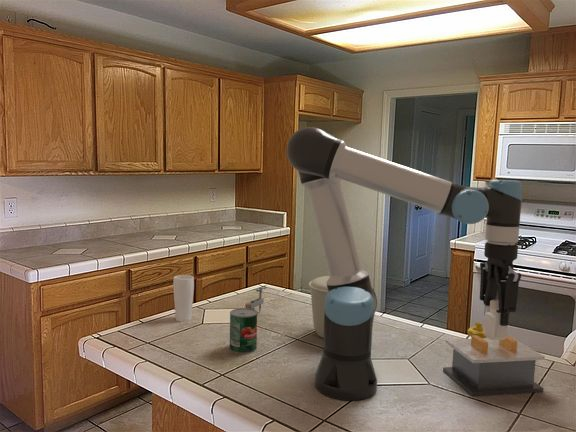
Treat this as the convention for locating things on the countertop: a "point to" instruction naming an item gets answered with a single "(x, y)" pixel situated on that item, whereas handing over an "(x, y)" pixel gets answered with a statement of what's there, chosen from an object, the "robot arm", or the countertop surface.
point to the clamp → (256, 302)
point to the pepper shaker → (491, 321)
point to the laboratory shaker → (493, 366)
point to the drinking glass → (183, 297)
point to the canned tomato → (243, 330)
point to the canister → (318, 302)
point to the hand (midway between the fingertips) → (494, 333)
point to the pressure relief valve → (477, 330)
